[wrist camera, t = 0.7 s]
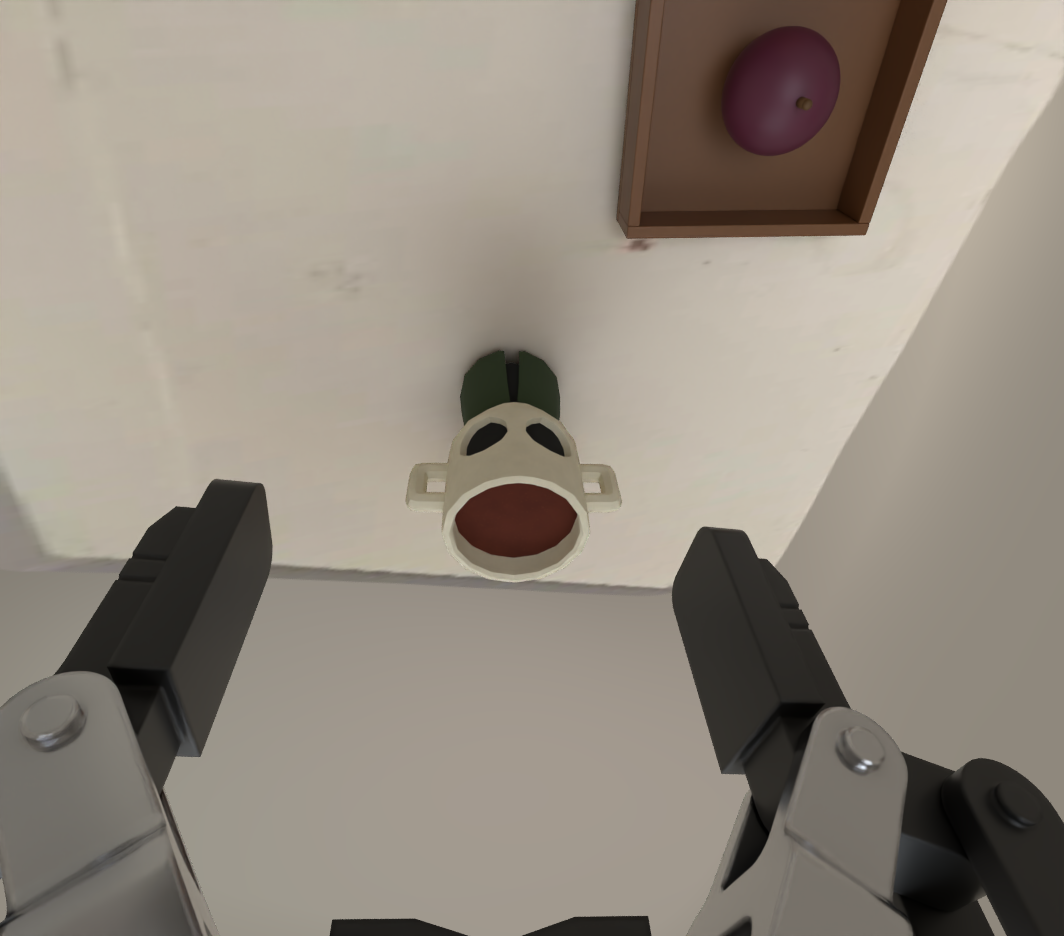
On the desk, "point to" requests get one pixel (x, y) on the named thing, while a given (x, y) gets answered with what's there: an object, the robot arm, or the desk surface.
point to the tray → (738, 175)
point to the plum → (780, 90)
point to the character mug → (513, 476)
